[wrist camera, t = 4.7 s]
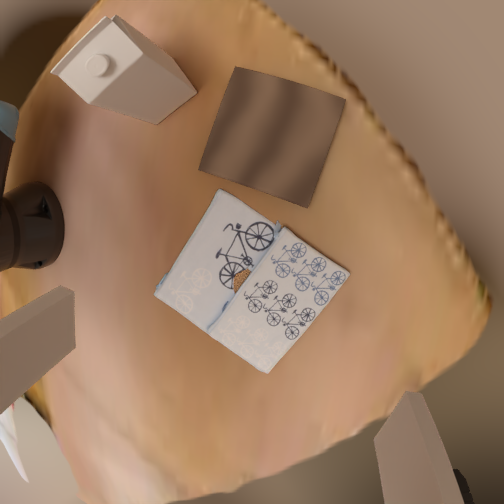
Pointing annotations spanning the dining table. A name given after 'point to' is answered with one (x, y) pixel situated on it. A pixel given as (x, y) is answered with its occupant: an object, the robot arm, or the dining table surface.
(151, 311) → the dining table surface
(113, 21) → the milk carton
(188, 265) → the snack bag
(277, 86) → the walnut board
